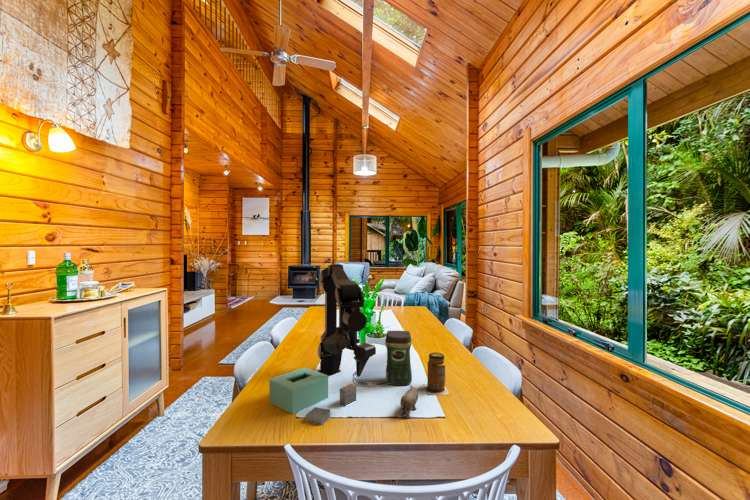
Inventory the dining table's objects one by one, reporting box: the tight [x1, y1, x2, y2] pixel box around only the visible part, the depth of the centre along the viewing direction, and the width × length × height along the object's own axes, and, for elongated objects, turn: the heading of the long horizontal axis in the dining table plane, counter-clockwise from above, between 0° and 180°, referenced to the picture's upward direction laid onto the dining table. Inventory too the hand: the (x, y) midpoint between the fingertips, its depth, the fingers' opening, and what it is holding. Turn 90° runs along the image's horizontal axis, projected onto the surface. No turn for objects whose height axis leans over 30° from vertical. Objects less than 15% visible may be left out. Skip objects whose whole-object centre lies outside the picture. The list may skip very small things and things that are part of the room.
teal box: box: [268, 366, 329, 415], centre depth 113 cm, size 14×12×7 cm
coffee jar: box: [384, 330, 413, 386], centre depth 128 cm, size 10×8×19 cm
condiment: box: [423, 351, 450, 396], centre depth 121 cm, size 7×8×12 cm
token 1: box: [305, 406, 331, 426], centre depth 101 cm, size 5×5×2 cm
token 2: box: [339, 383, 357, 407], centre depth 111 cm, size 5×2×5 cm, turn 140°
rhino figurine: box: [400, 385, 421, 419], centre depth 108 cm, size 4×14×6 cm, turn 159°
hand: (347, 372), depth 111 cm, fingers open, 9 cm apart
